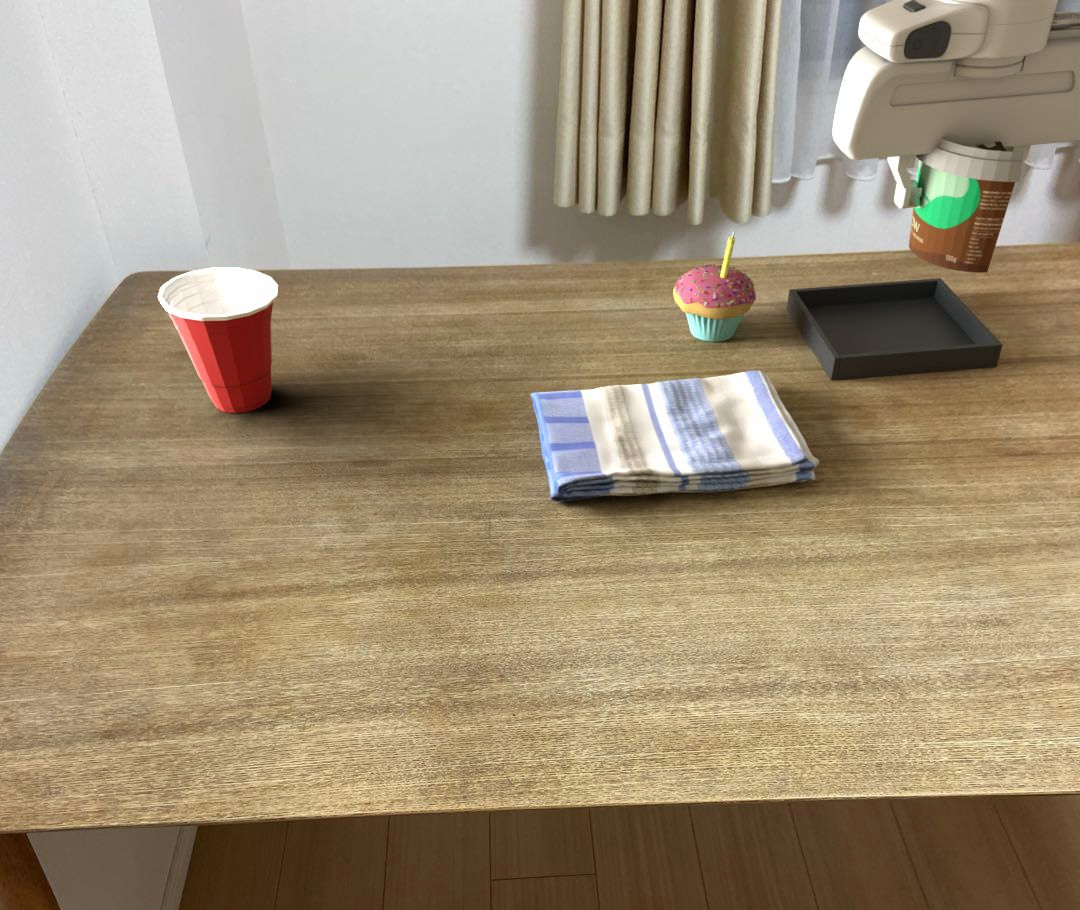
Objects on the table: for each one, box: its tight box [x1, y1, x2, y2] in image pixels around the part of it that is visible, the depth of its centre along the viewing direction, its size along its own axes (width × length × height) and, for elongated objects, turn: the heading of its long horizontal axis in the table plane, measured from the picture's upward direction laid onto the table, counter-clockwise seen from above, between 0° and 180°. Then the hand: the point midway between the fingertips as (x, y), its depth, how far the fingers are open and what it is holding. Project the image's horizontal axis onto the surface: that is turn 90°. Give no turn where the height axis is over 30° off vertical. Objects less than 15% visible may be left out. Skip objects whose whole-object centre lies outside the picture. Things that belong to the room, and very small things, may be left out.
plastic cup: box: [157, 266, 279, 414], centre depth 98 cm, size 11×11×12 cm
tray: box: [785, 277, 1004, 381], centre depth 107 cm, size 17×15×2 cm
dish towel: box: [530, 369, 821, 503], centre depth 93 cm, size 17×24×3 cm
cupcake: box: [672, 230, 757, 343], centre depth 106 cm, size 9×8×12 cm
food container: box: [908, 138, 1024, 274], centre depth 83 cm, size 12×6×10 cm, turn 179°
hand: (946, 202), depth 84 cm, fingers closed on food container, 6 cm apart
